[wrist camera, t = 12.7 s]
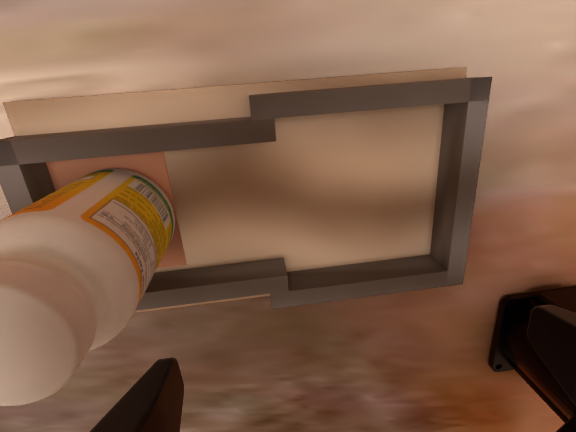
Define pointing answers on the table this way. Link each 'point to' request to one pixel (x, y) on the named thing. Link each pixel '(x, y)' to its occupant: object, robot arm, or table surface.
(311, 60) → the table surface
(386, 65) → the table surface
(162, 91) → the grey flat frame
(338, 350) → the table surface
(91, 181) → the supplement bottle
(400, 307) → the table surface
